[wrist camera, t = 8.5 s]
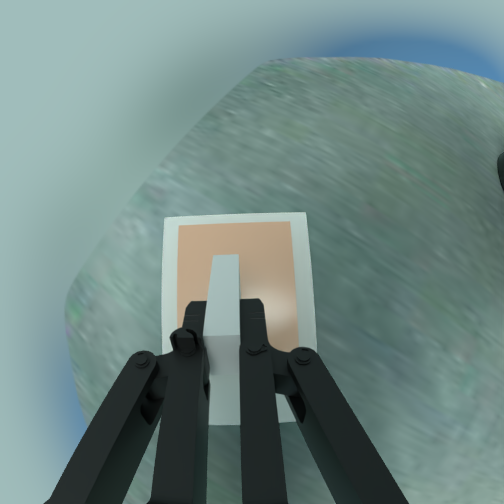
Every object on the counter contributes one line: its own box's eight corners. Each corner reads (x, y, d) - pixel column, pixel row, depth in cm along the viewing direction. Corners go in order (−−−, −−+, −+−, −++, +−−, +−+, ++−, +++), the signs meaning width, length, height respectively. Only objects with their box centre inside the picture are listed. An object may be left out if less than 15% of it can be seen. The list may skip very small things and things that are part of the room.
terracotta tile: (299, 359, 23) (290, 221, 26) (178, 362, 22) (178, 225, 26) (295, 357, 25) (287, 229, 28) (183, 360, 24) (183, 232, 28)
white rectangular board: (317, 416, 24) (318, 418, 23) (168, 421, 23) (167, 422, 23) (304, 214, 29) (305, 212, 28) (166, 219, 29) (164, 217, 28)
